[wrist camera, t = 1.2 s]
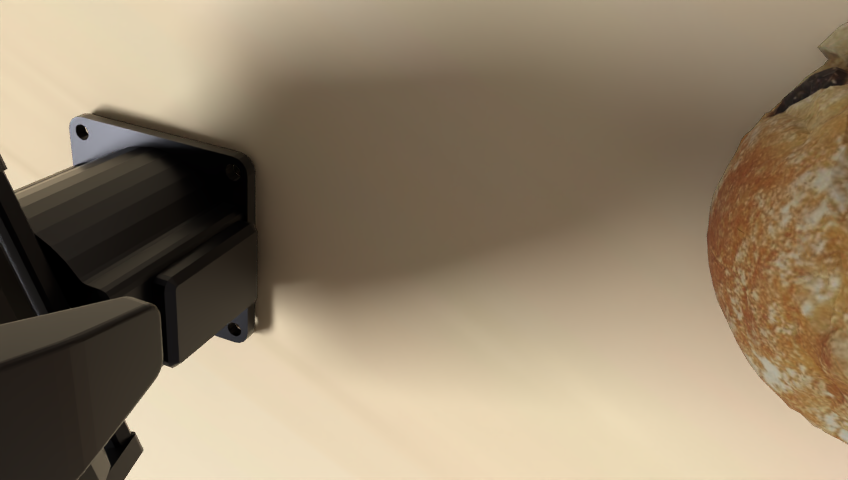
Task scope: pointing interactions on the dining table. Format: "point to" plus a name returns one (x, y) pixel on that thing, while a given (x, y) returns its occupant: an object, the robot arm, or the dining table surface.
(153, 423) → the dining table surface
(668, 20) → the dining table surface
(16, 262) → the robot arm
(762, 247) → the bread roll
